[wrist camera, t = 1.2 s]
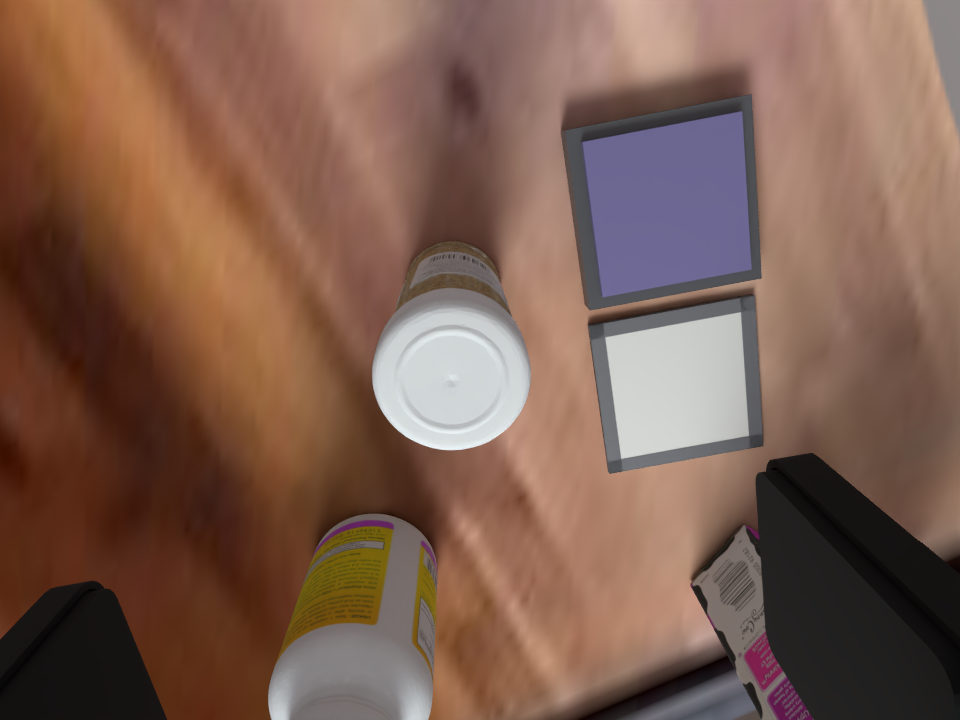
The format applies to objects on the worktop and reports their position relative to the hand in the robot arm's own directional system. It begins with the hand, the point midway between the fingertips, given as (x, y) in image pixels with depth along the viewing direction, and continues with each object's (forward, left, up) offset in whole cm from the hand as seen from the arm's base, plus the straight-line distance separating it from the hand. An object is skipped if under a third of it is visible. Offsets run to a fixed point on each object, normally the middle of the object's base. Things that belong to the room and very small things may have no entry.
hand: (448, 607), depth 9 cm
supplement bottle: (+14, -7, -23) cm, 28 cm away
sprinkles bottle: (0, 0, -23) cm, 23 cm away
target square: (+7, +10, -23) cm, 26 cm away
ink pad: (-2, +10, -23) cm, 25 cm away
